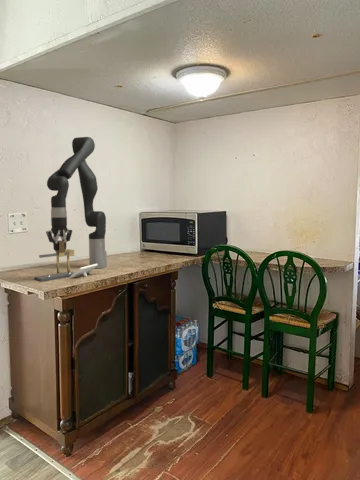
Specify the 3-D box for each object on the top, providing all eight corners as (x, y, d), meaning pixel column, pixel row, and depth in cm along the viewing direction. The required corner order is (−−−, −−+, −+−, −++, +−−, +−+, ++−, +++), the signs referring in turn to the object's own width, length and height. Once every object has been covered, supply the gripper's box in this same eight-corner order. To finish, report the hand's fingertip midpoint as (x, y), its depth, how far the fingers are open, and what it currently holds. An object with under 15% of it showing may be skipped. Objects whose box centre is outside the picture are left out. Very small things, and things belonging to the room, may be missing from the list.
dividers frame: (69, 271, 198) (68, 249, 197) (74, 272, 195) (74, 249, 194) (36, 276, 185) (35, 252, 184) (41, 278, 181) (40, 253, 180)
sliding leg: (60, 272, 193) (59, 240, 192) (65, 273, 190) (64, 240, 188) (54, 273, 191) (53, 240, 189) (60, 274, 188) (58, 241, 186)
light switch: (84, 273, 186) (101, 269, 200) (79, 266, 187) (96, 262, 200) (73, 283, 189) (90, 277, 203) (68, 275, 190) (86, 270, 204)
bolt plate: (69, 273, 201) (69, 270, 201) (77, 275, 196) (77, 272, 196) (34, 279, 186) (34, 276, 186) (42, 281, 181) (42, 278, 181)
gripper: (67, 216, 195) (68, 248, 197) (41, 216, 185) (43, 251, 186) (75, 216, 190) (76, 249, 192) (49, 217, 180) (51, 252, 181)
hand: (60, 250), depth 189 cm, fingers open, 3 cm apart
